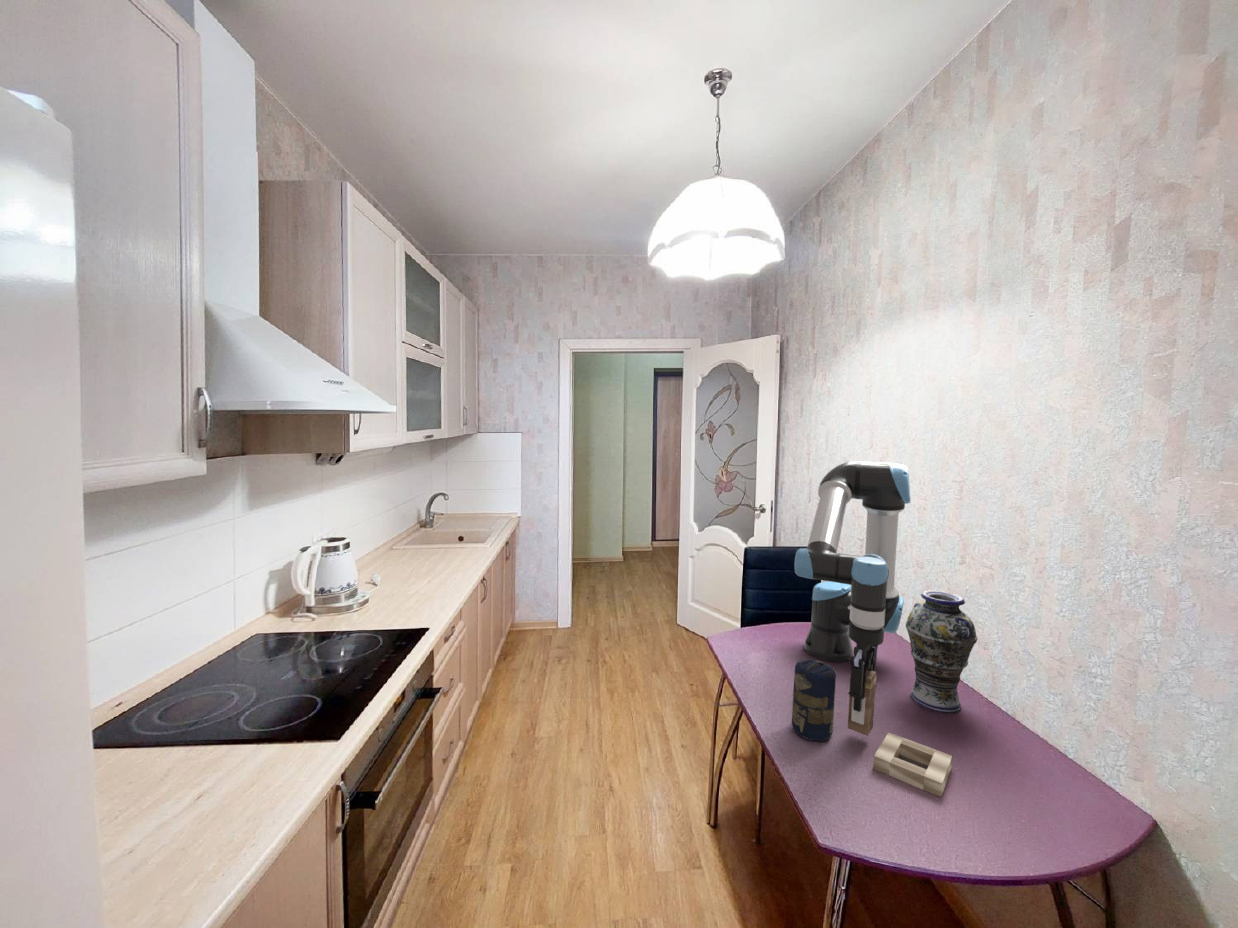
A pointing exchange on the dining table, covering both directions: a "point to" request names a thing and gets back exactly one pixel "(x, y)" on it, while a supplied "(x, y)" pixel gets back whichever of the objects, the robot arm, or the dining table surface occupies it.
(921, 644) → the vase
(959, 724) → the dining table surface
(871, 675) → the block
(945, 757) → the socket block
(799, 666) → the blue patterned canister
